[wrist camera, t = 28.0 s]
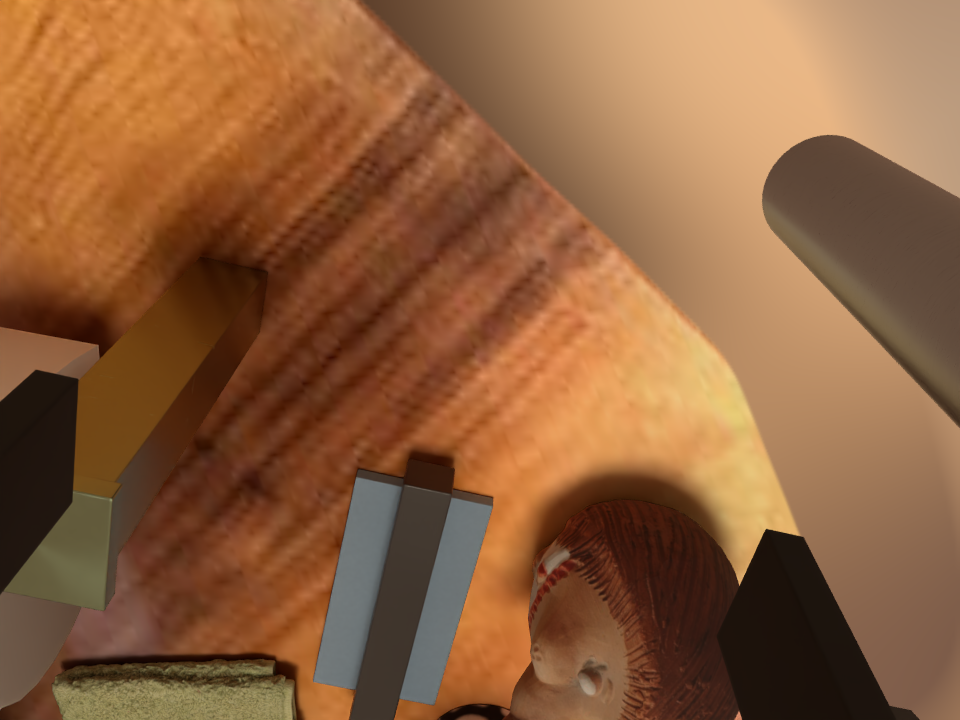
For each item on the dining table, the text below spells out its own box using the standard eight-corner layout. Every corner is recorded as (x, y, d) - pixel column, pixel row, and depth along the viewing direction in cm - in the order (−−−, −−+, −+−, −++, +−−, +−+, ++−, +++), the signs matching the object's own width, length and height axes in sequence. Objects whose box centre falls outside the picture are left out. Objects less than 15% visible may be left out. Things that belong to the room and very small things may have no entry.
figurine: (460, 517, 58) (446, 689, 45) (692, 446, 56) (753, 606, 42) (531, 671, 64) (539, 866, 50) (746, 614, 61) (815, 803, 48)
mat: (358, 468, 57) (355, 477, 56) (493, 497, 58) (493, 506, 57) (315, 671, 65) (312, 682, 64) (435, 695, 65) (434, 705, 64)
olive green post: (192, 246, 51) (-40, 467, 29) (277, 265, 51) (112, 499, 30) (184, 323, 53) (-38, 584, 31) (266, 342, 53) (104, 612, 32)
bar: (408, 458, 55) (403, 484, 53) (455, 467, 56) (452, 494, 53) (351, 707, 65) (344, 741, 62) (391, 715, 65) (386, 748, 62)
